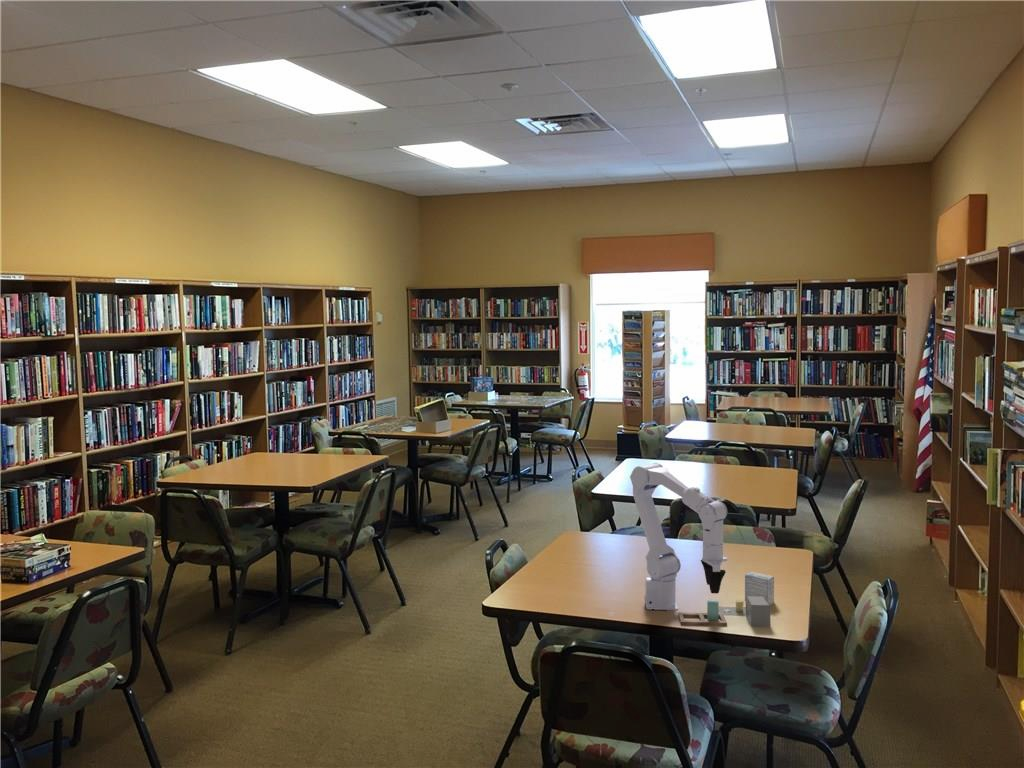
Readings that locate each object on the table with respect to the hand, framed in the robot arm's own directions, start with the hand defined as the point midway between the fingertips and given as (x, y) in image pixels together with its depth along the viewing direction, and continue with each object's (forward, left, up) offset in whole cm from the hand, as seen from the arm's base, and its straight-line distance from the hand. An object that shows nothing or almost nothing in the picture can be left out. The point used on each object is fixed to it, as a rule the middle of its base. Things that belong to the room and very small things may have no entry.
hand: (712, 588), depth 233 cm
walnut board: (-3, 0, -10) cm, 10 cm away
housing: (+13, 0, -10) cm, 16 cm away
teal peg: (0, 0, -10) cm, 10 cm away
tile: (+7, +9, -10) cm, 15 cm away
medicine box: (+17, +18, -10) cm, 26 cm away
